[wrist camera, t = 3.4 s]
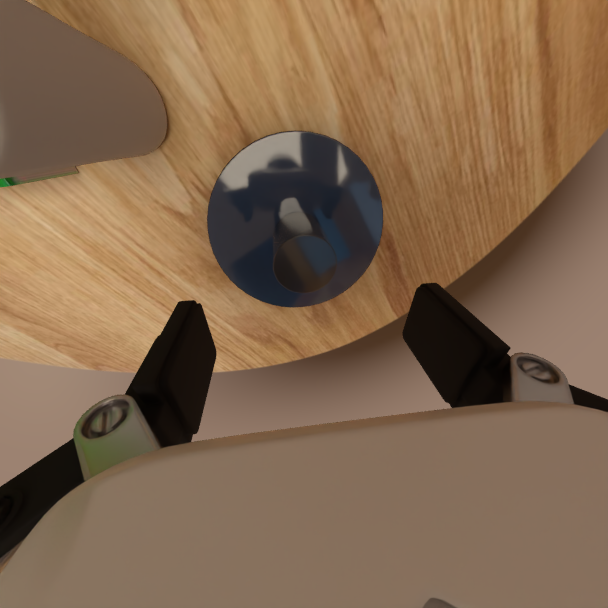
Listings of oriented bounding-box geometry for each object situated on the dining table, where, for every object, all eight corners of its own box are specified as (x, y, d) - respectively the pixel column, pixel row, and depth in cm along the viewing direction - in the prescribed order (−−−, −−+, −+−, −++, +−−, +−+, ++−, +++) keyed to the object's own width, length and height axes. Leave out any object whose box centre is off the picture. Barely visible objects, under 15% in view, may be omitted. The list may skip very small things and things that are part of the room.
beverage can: (59, 43, 12) (-745, -305, 3) (158, 56, 13) (-188, -185, 3) (99, 152, 15) (-218, 183, 5) (178, 159, 16) (25, 196, 6)
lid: (394, 130, 16) (448, 127, 11) (365, 296, 24) (389, 337, 19) (187, 131, 15) (144, 130, 10) (229, 305, 23) (217, 352, 18)
